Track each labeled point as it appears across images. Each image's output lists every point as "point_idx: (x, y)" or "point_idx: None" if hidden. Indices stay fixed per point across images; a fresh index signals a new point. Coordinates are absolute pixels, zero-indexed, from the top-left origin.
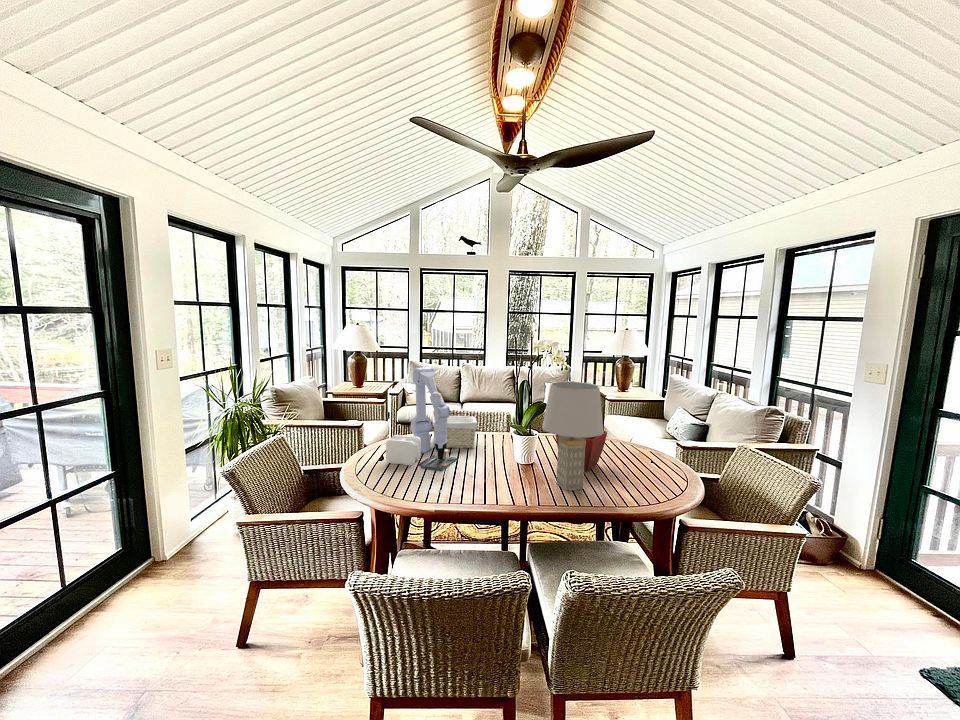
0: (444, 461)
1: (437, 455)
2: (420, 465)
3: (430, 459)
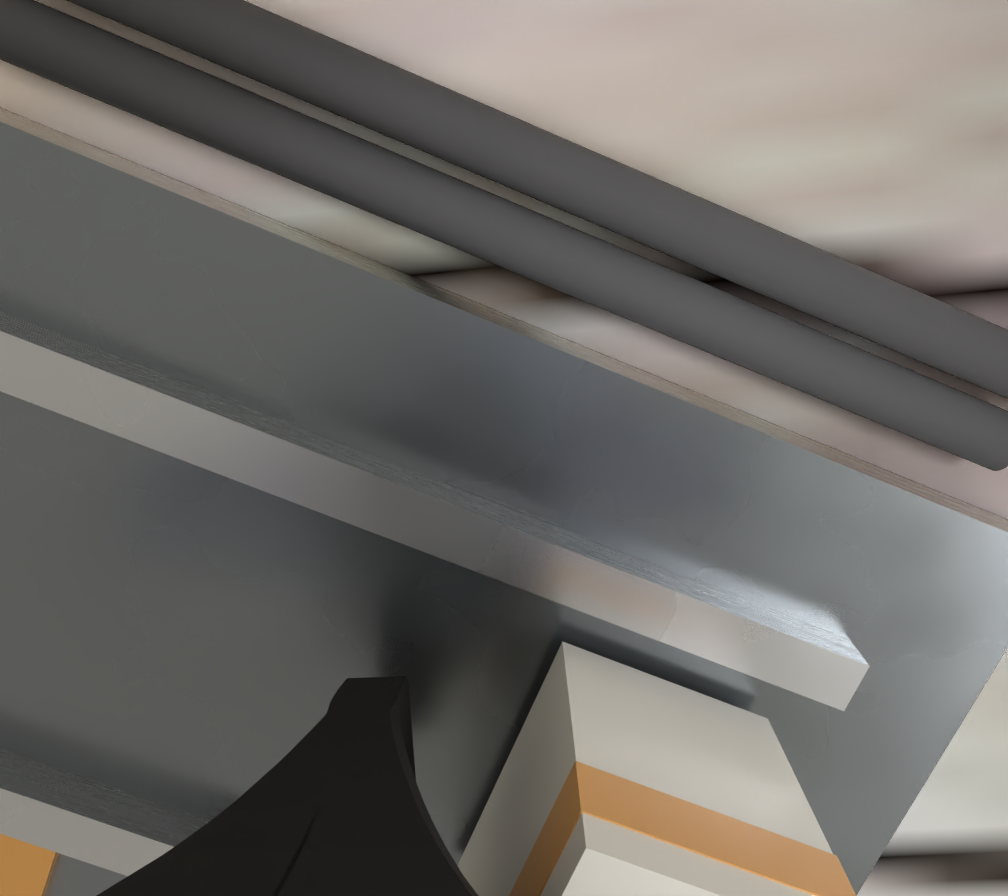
0: None
1: (947, 569)
2: (5, 6)
3: (475, 352)
